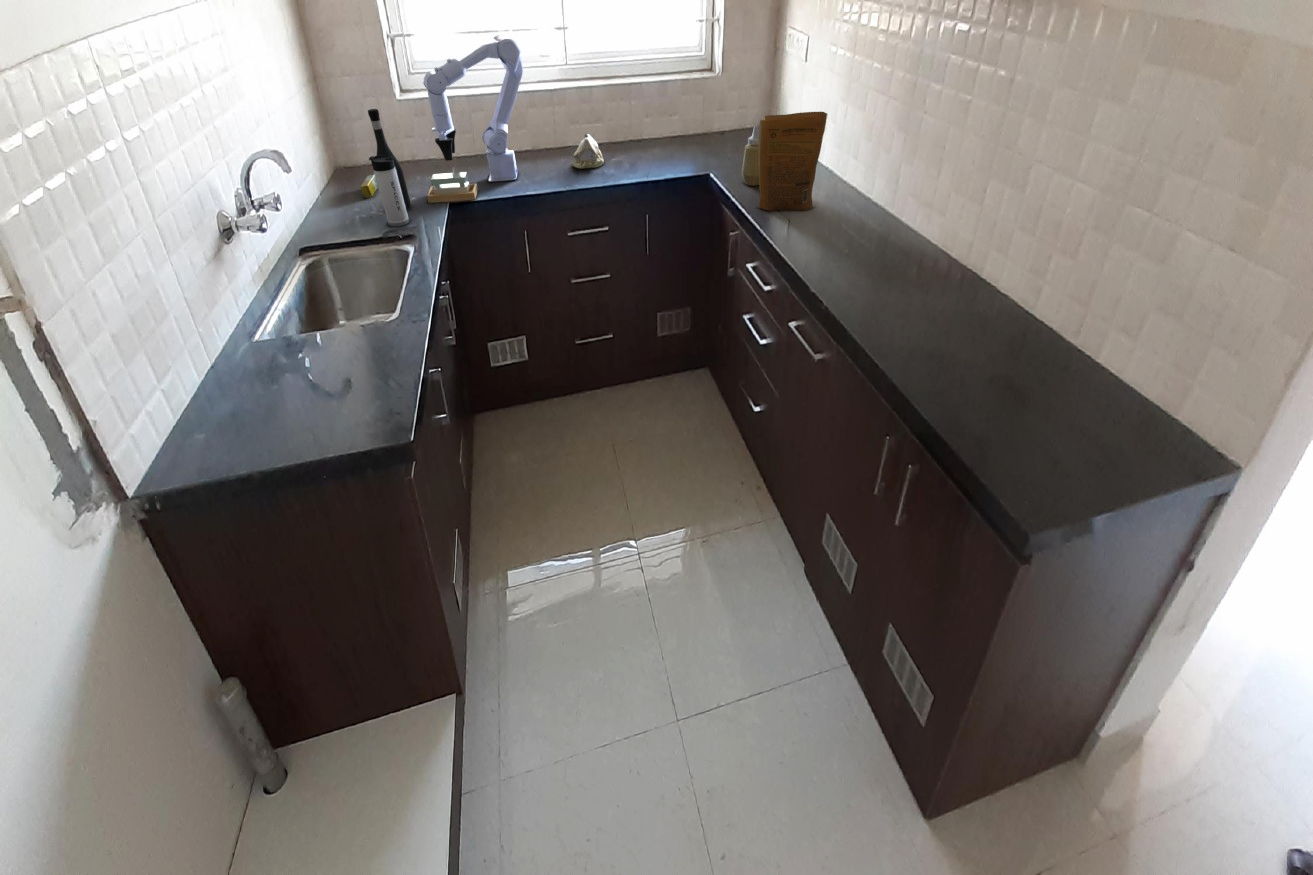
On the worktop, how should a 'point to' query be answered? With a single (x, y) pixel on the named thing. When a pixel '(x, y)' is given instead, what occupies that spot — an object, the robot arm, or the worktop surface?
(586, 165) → the ceramic model
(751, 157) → the squeeze bottle
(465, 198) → the tray
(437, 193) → the off-white rectangular slab
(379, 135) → the wine bottle
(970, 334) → the worktop surface
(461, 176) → the sage green thick block
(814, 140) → the pancake mix bag
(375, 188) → the medication box
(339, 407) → the worktop surface
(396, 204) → the travel mug
